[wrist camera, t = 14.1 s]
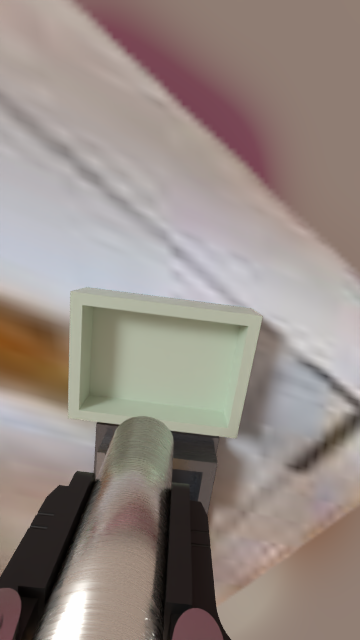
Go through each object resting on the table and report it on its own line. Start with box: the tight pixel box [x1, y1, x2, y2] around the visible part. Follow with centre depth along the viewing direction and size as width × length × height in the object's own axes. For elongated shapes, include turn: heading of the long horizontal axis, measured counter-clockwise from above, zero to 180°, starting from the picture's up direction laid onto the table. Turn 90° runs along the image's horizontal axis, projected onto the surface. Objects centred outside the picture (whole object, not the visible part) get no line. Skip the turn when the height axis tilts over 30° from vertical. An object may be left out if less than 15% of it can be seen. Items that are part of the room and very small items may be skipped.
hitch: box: [94, 422, 219, 514], centre depth 26 cm, size 13×15×4 cm
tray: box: [68, 287, 263, 438], centre depth 23 cm, size 16×12×3 cm
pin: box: [32, 416, 174, 640], centre depth 8 cm, size 4×4×10 cm
